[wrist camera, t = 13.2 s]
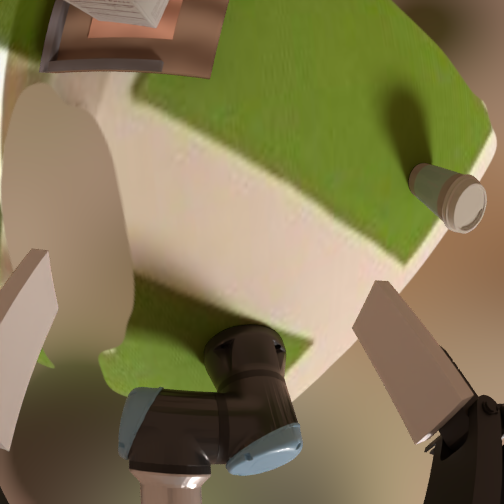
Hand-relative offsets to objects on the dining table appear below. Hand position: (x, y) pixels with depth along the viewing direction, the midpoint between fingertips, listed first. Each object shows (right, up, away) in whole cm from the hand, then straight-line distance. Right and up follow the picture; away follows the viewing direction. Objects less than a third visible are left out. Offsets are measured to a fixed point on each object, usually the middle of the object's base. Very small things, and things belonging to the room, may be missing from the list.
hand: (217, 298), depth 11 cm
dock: (-12, +31, +13) cm, 36 cm away
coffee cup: (+29, +14, +31) cm, 45 cm away
